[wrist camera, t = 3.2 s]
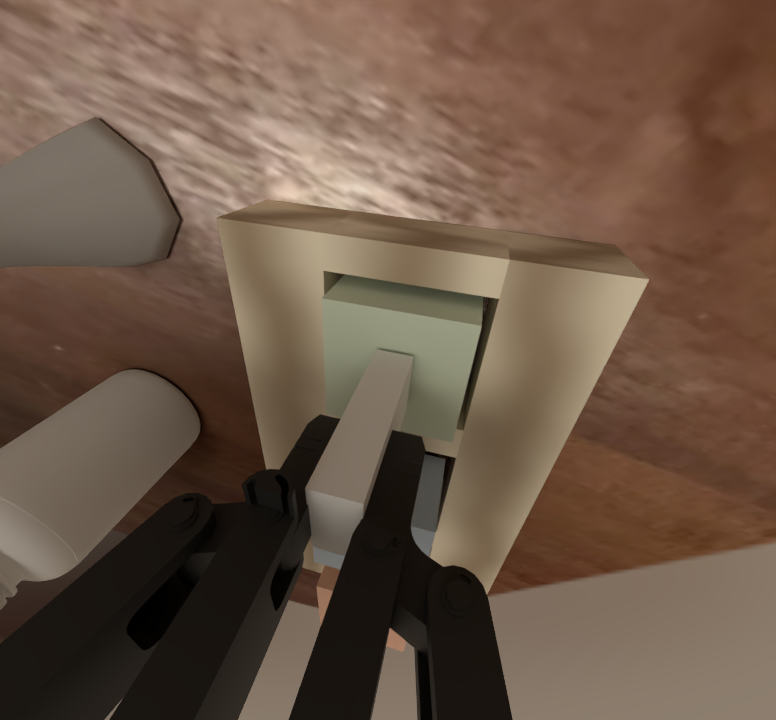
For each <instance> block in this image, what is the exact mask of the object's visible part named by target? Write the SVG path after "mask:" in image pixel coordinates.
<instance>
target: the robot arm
mask: <svg viewBox="0 0 776 720" xmlns="http://www.w3.org/2000/svg"><path fill="white" fill-rule="evenodd" d="M412 365H413V356H408V355H403V354H398V353H393V352H387V351H382V350H377V349H376V351H375V353H374V355H373V357H372V359H371V361H370V363H369V365H368V367H367V369H366V371H365V372H364V374H363V376H362V378H361V380H360V382H359V384H358V386H357V388H356V390H355V392H354V394H353V396H352V398H351V400H350V402H349V404H348V406H347V408H346V410H345V412H344V413H343V415H342V417H341V419H339V418H334V417H330V416H325V415H321V414H320V415H318V416H317V417H316V418H314V419H313V420H312V421H310V422H309V423H308V424H307V426H306V427H305V429H304V430H303V432H302V434H301V435H300V438H299V439H298V440H297V442H296V443H295V445H294V448H292V450H291V452H290V453H289V455H288V456H287V458H286V460H285V461H284V463H283V465H282V466H281V468H280V469H266V470H262V471H259V472H257V473H255V474H253V475H251V476H250V477H249V478H248V479H247V480H246V481H245V482H244V483H243V484H242V487H243V491H244V494H245V498H246V501H245V502H239V503H226V504H212V503H211V501H210V500H209V499H208V498H207V497H206V496H205V495H202V494H199V493H187V494H184V495H181V496H178V497H176V498H174V499H173V500H171V501H169V502H168V503H166V504H165V505H164V506H163V507H161V508H160V509H159V510H158V511H157V512H156V513H154V514H153V515H152V516H151V517H150V518H148V519H147V520H146V521H145V522H144V523H143V524H141V525H140V526H139V527H138V528H137V529H135V530H134V531H133V532H132V533H131V534H130V535H128V536H127V537H126V538H125V539H124V540H123V541H121V542H120V543H119V544H118V545H117V546H115V547H114V548H113V549H112V550H111V551H109V552H108V553H107V554H106V555H105V556H104V557H102V558H101V559H100V560H99V561H98V562H96V563H95V564H94V565H93V566H92V567H91V568H89V569H88V570H87V571H86V572H85V573H83V574H82V575H81V576H80V577H79V578H78V579H76V580H75V581H74V582H73V583H72V584H70V585H69V586H68V587H67V588H66V589H65V590H63V591H62V592H61V593H60V594H59V595H57V597H55V598H54V599H53V600H52V601H50V602H49V603H48V604H47V605H46V606H44V607H43V608H42V609H41V610H40V611H39V612H38V613H36V614H35V615H34V616H33V617H31V618H30V619H29V620H28V621H27V622H25V623H24V624H23V625H22V626H21V627H20V628H18V629H17V630H16V631H15V632H14V633H12V634H11V635H10V636H9V637H8V638H7V639H6V640H4V641H3V642H2V643H1V644H0V720H104V719H105V718H106V717H107V716H108V715H109V713H110V712H111V711H112V710H113V709H114V708H115V706H116V705H117V704H118V703H119V702H120V701H121V699H122V698H123V697H124V698H123V699H122V701H121V703H120V704H119V706H118V707H117V709H116V710H115V712H114V713H113V715H112V717H111V718H110V720H238V718H239V715H240V713H241V710H242V708H243V706H244V704H245V701H246V699H247V696H248V694H249V692H250V689H251V687H252V685H253V682H254V680H255V678H256V675H257V673H258V671H259V668H260V666H261V664H262V661H263V659H264V657H265V654H266V652H267V650H268V647H269V645H270V642H271V640H272V637H273V635H274V633H275V631H276V628H277V626H278V624H279V621H280V619H281V616H282V614H283V612H284V609H285V607H286V605H287V602H288V600H289V598H290V595H291V593H292V591H293V588H294V586H295V584H296V581H297V579H298V577H299V574H300V572H301V570H302V566H303V562H304V555H303V553H304V551H305V548H306V546H307V544H308V542H309V539H311V546H312V547H315V548H319V549H322V550H325V551H329V552H332V553H336V554H339V555H342V556H345V558H344V560H343V563H342V566H341V569H340V572H339V575H338V578H337V581H336V584H335V587H334V590H333V592H332V595H331V598H330V601H329V604H328V607H327V610H326V613H325V616H324V619H323V622H322V624H321V627H320V631H319V633H318V636H317V639H316V642H315V645H314V648H313V651H312V654H311V657H310V660H309V662H308V665H307V668H306V671H305V674H304V677H303V680H302V683H301V686H300V688H299V691H298V694H297V697H296V700H295V703H294V706H293V709H292V712H291V715H290V718H289V720H371V717H372V712H373V707H374V703H375V698H376V693H377V688H378V683H379V678H380V673H381V669H382V664H383V659H384V654H385V649H386V644H387V640H388V635H389V630H390V628H391V629H392V630H393V631H395V632H396V633H397V634H398V635H399V636H401V637H402V638H403V639H404V640H406V641H407V642H408V643H409V644H410V645H412V646H413V647H414V649H415V672H416V693H417V716H418V720H512V715H511V710H510V705H509V700H508V695H507V690H506V685H505V680H504V675H503V671H502V665H501V660H500V656H499V650H498V646H497V640H496V636H495V631H494V626H493V621H492V616H491V611H490V606H489V601H488V597H487V594H486V592H485V589H484V586H483V584H482V583H481V582H480V581H479V579H478V578H477V577H476V575H475V574H473V573H472V572H470V571H469V570H467V569H466V568H463V567H459V566H455V565H451V566H445V567H443V566H441V565H440V564H439V563H437V562H436V561H434V560H433V559H431V558H430V557H428V556H427V555H426V554H425V553H424V552H422V551H421V550H420V548H419V547H418V546H417V544H416V543H415V541H414V538H413V536H412V531H411V522H412V517H413V512H414V507H415V502H416V497H417V492H418V487H419V482H420V477H421V472H422V467H423V462H424V457H425V451H426V449H425V446H424V442H423V439H422V437H421V436H417V435H412V434H408V433H403V432H400V429H401V426H402V422H403V419H404V416H405V413H406V409H407V402H408V395H409V387H410V380H411V372H412Z"/></svg>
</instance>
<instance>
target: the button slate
mask: <svg viewBox="0 0 776 720" xmlns="http://www.w3.org/2000/svg"><path fill="white" fill-rule="evenodd" d="M445 460H446V459H443V458H439V457H435V456H431V455H426V454H425V457H424V462H423V467H422V472H421V477H420V482H419V487H418V492H417V497H416V502H415V507H414V512H413V517H412V522H411V531H412V536H413V538H414V541H415V543H416V544H417V546H418V547H419V548H420V550H421V551H422V552H424V553H425V554H426V555H427V556H428V557H429V555H430V551H431V547H432V544H433V540H434V536H435V532H436V525H437V518H438V511H439V503H440V496H441V489H442V482H443V475H444V467H445ZM313 555H314V562H316V563H320V564H323V565H326V566H330V567H333V568H336V569H341V566H342V563H343V560H344V558H345V556H342V555H339V554H336V553H332V552H329V551H325V550H322V549H319V548H315V547H313Z"/></svg>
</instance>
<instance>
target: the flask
mask: <svg viewBox="0 0 776 720" xmlns="http://www.w3.org/2000/svg"><path fill="white" fill-rule="evenodd" d="M179 221H180V219H179V217H178V215H177V213H176V211H175V210H174V208H173V206H172V204H171V202H170V200H169V198H168V196H167V194H166V192H165V190H164V188H163V186H162V185H161V183H160V181H159V179H158V177H157V175H156V173H155V171H154V169H153V167H152V165H151V163H150V161H149V160H148V159H147V158H146V157H144V156H143V155H142V154H141V153H139V152H138V151H137V150H136V149H135V148H133V147H132V146H131V145H130V144H128V143H127V142H126V141H125V140H124V139H122V138H121V137H120V136H119V135H117V134H116V133H115V132H114V131H112V130H111V129H110V128H109V127H108V126H106V125H105V124H104V123H103V122H101V121H100V120H99V119H98V118H97V117H94V118H92V119H90V120H88V121H86V122H83V123H81V124H79V125H77V126H75V127H73V128H71V129H68V130H66V131H64V132H62V133H60V134H58V135H56V136H54V137H52V138H50V139H48V140H46V141H44V142H42V143H41V144H39V145H37V146H36V147H34V148H32V149H30V150H29V151H27V152H25V153H24V154H22V155H20V156H18V157H17V158H15V159H13V160H11V161H10V162H8V163H6V164H4V165H2V166H0V268H4V267H11V266H96V267H134V266H138V265H142V264H146V263H151V262H155V261H159V260H163V259H166V258H167V255H168V252H169V250H170V247H171V244H172V241H173V238H174V235H175V232H176V229H177V226H178V224H179Z"/></svg>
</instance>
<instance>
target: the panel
mask: <svg viewBox="0 0 776 720" xmlns="http://www.w3.org/2000/svg"><path fill="white" fill-rule="evenodd" d="M217 223H218V228H219V233H220V238H221V243H222V248H223V253H224V259H225V264H226V269H227V274H228V279H229V284H230V289H231V294H232V299H233V304H234V309H235V314H236V319H237V324H238V329H239V334H240V339H241V344H242V349H243V354H244V359H245V364H246V369H247V374H248V379H249V385H250V390H251V395H252V400H253V405H254V410H255V415H256V420H257V425H258V430H259V435H260V440H261V445H262V450H263V455H264V460H265V465H266V469H280V468H281V466H282V465H283V463H284V461H285V460H286V458H287V456H288V455H289V453H290V452H291V450H292V448H294V445H295V443H296V442H297V440H298V439H299V438H300V435H301V434H302V432H303V430H304V429H305V427H306V426H307V424H308V423H309V422H310V421H312V420H313V419H314V418H316V417H317V416H318V415H320V414H321V415H325V416H330V417H334V418H339V419H341V417H337V416H333V415H329V414H327V411H326V387H325V363H324V340H323V316H322V297H323V296H324V295H325V294H326V293H327V292H328V291H329V290H330V289H331V288H332V287H333V286H334V285H335V284H336V283H337V282H338V281H339V280H340V279H341V278H342V277H343V276H344V275H345V274H347V275H353V276H359V277H365V278H372V279H378V280H384V281H390V282H397V283H403V284H409V285H415V286H421V287H428V288H434V289H440V290H446V291H453V292H459V293H465V294H471V295H478V296H484V297H490V298H489V302H488V306H487V310H486V314H485V317H484V321H483V325H482V329H481V333H480V337H479V341H478V345H477V349H476V353H475V357H474V361H473V365H472V369H471V373H470V377H469V381H468V383H467V387H466V391H465V395H464V399H463V403H462V407H461V411H460V415H459V419H458V423H457V427H456V431H455V435H454V439H453V443H452V442H447V441H443V440H438V439H434V438H430V437H425V436H421V435H417V436H421V437H422V439H423V442H424V446H425V449H426V451H429V452H433V453H437V454H442V455H446V456H449V460H448V464H447V468H446V472H445V476H444V480H443V482H442V489H441V496H440V503H439V511H438V518H437V525H436V532H435V536H434V540H433V544H432V547H431V551H430V555H429V557H430V558H431V559H433V560H434V561H436V562H437V563H439V564H440V565H441V566H443V567H445V566H451V565H455V566H459V567H463V568H466V569H467V570H469V571H470V572H472V573H473V574H475V575H476V577H477V578H478V579H479V581H480V582H481V583H482V584H483V586H484V589H485V592H486V594H487V593H488V592H489V590H490V588H491V586H492V584H493V582H494V580H495V578H496V576H497V574H498V572H499V570H500V568H501V566H502V564H503V562H504V561H505V559H506V557H507V555H508V553H509V551H510V549H511V547H512V545H513V543H514V541H515V539H516V537H517V535H518V533H519V531H520V529H521V528H522V526H523V524H524V522H525V520H526V518H527V516H528V514H529V512H530V510H531V508H532V506H533V504H534V502H535V500H536V498H537V496H538V495H539V493H540V491H541V489H542V487H543V485H544V483H545V481H546V479H547V477H548V475H549V473H550V471H551V469H552V467H553V465H554V463H555V462H556V460H557V458H558V456H559V454H560V452H561V450H562V448H563V446H564V444H565V442H566V440H567V438H568V436H569V434H570V432H571V431H572V429H573V427H574V425H575V423H576V421H577V419H578V417H579V415H580V413H581V411H582V409H583V407H584V405H585V403H586V401H587V399H588V398H589V396H590V394H591V392H592V390H593V388H594V386H595V384H596V382H597V380H598V378H599V376H600V374H601V372H602V370H603V368H604V366H605V365H606V363H607V361H608V359H609V357H610V355H611V353H612V351H613V349H614V347H615V345H616V343H617V341H618V339H619V337H620V335H621V333H622V332H623V330H624V328H625V326H626V324H627V322H628V320H629V318H630V316H631V314H632V312H633V310H634V308H635V306H636V304H637V302H638V301H639V299H640V297H641V295H642V293H643V291H644V289H645V287H646V285H647V283H648V281H649V279H648V278H647V277H646V276H645V275H644V274H643V273H642V272H641V271H640V270H639V269H638V268H637V267H636V266H635V265H634V264H633V263H632V262H631V261H630V260H629V259H628V258H627V257H626V256H625V255H624V254H623V253H622V252H621V251H620V250H619V249H618V248H617V246H616V245H608V244H601V243H593V242H585V241H578V240H570V239H562V238H555V237H547V236H539V235H532V234H524V233H516V232H509V231H501V230H493V229H486V228H478V227H470V226H463V225H455V224H448V223H440V222H432V221H425V220H417V219H409V218H402V217H394V216H386V215H379V214H371V213H363V212H356V211H348V210H340V209H333V208H325V207H317V206H310V205H302V204H294V203H287V202H279V201H271V200H266V201H263V202H260V203H257V204H255V205H252V206H249V207H246V208H243V209H240V210H237V211H235V212H232V213H229V214H226V215H223V216H220V217H217ZM400 432H403V431H400ZM403 433H408V432H403ZM408 434H412V433H408ZM412 435H416V434H412ZM303 555H304V562H303V566H302V568H306V569H309V570H312V571H315V572H319V573H322V571H323V568H324V565H323V564H320V563H316V562H314V555H313V547H312V546H311V539H309V542H308V544H307V546H306V548H305V551H304V553H303Z"/></svg>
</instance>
